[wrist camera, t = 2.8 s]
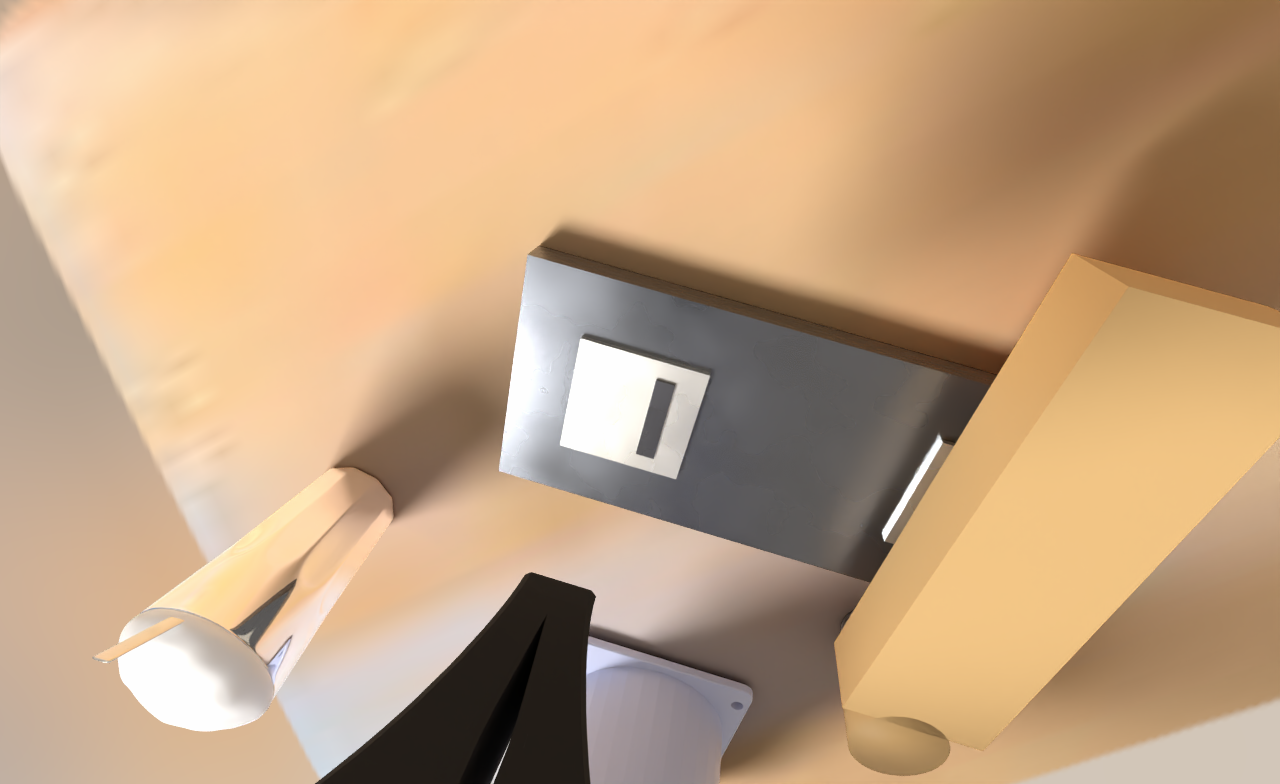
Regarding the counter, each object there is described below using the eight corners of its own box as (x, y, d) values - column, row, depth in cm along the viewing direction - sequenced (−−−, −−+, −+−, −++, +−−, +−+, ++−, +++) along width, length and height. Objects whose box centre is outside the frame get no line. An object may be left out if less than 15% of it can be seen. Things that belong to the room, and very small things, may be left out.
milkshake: (406, 449, 23) (186, 684, 14) (413, 551, 25) (231, 802, 17) (295, 423, 23) (15, 636, 14) (313, 527, 26) (85, 760, 17)
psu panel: (1047, 615, 21) (1063, 646, 20) (508, 454, 22) (495, 475, 21) (1205, 433, 17) (1236, 459, 16) (539, 245, 18) (524, 257, 17)
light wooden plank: (926, 722, 22) (943, 792, 19) (807, 685, 22) (812, 751, 20) (1267, 306, 13) (1361, 349, 11) (1071, 252, 13) (1129, 286, 11)
